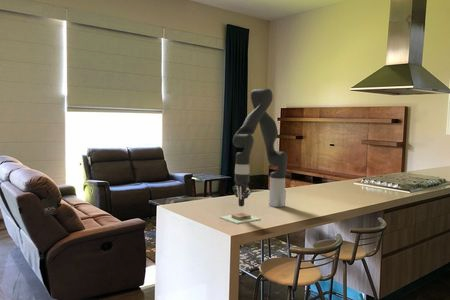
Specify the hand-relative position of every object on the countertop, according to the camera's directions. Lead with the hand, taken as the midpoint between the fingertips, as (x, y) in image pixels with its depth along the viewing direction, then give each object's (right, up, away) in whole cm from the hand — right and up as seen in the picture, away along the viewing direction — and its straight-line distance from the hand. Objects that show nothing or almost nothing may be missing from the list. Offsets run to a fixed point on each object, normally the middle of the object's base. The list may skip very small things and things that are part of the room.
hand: (241, 206), depth 197 cm
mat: (-1, -7, 0) cm, 7 cm away
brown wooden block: (-2, -5, +2) cm, 6 cm away
